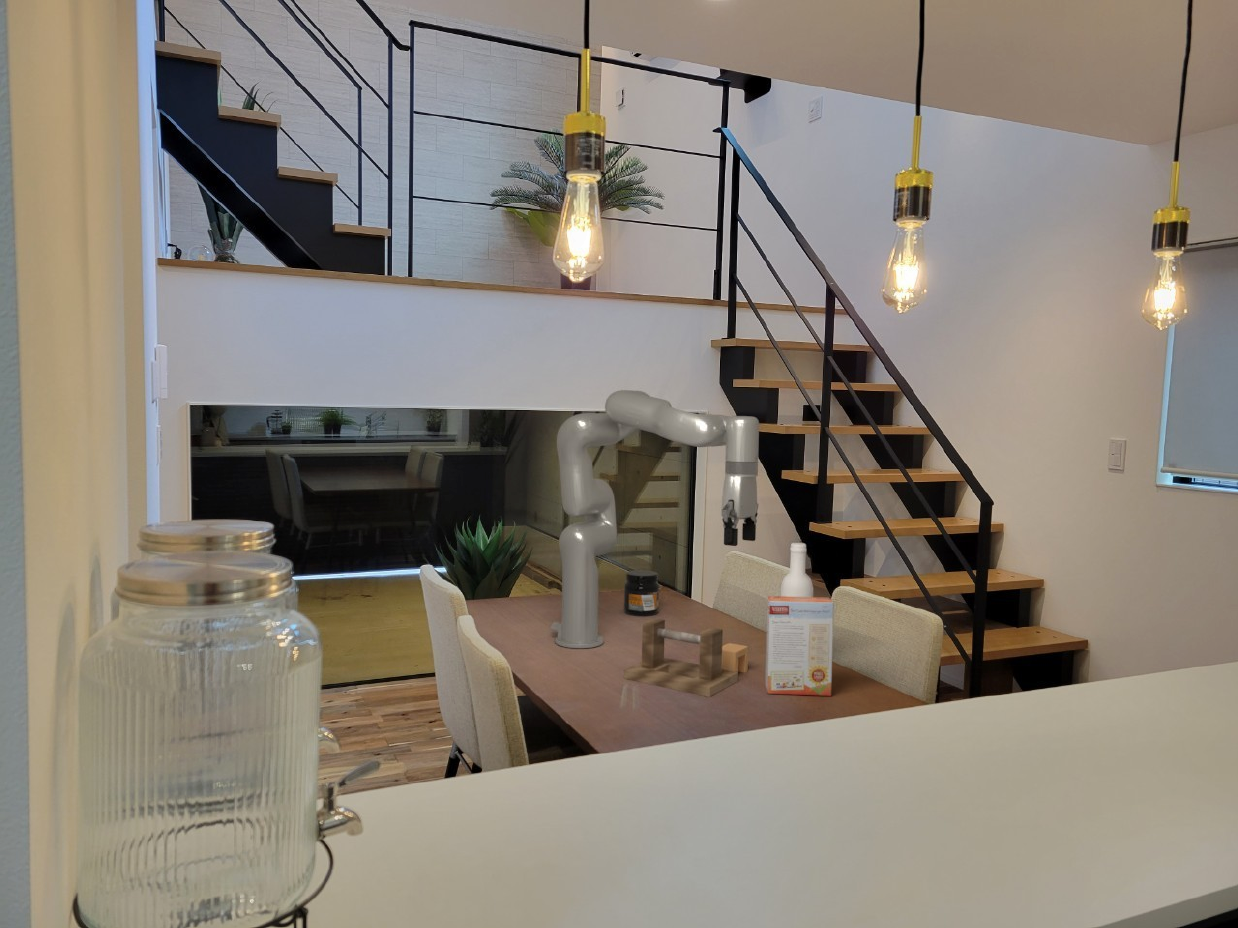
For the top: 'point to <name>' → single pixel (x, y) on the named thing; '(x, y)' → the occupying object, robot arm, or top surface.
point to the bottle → (797, 574)
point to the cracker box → (799, 645)
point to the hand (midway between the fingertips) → (739, 542)
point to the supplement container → (641, 593)
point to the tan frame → (659, 669)
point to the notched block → (735, 657)
